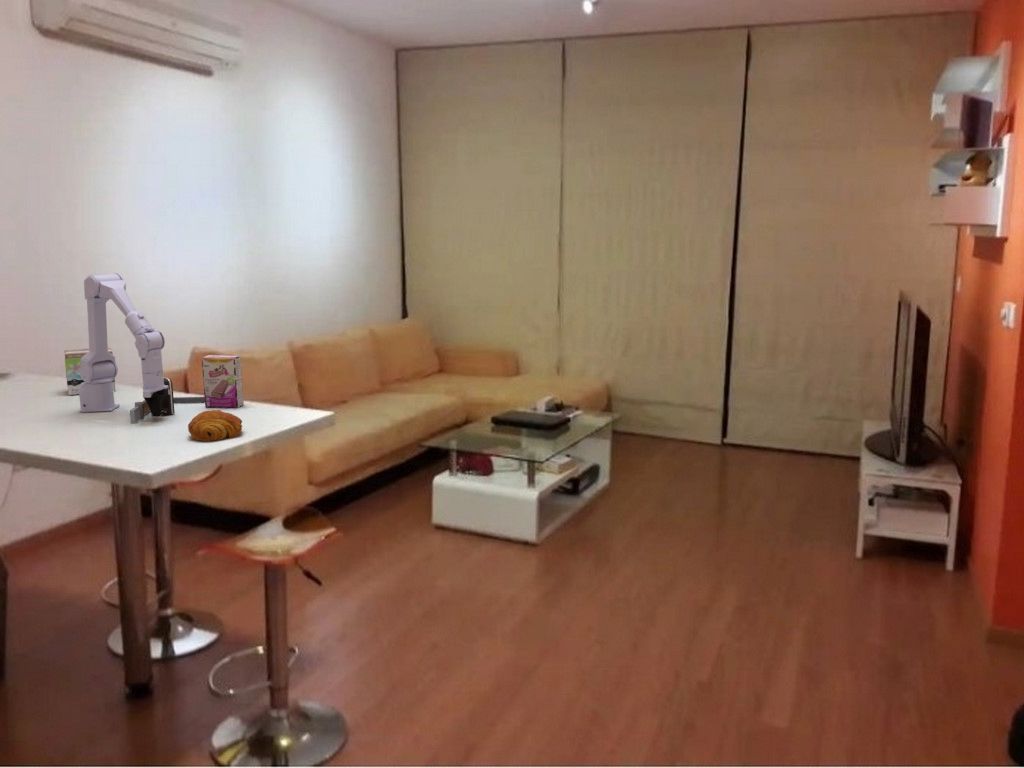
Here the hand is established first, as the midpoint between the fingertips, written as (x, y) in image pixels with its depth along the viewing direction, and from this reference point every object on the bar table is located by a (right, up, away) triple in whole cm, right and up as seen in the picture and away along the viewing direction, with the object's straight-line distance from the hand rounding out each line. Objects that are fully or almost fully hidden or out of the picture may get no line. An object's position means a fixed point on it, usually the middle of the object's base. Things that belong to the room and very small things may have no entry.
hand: (156, 416), depth 258 cm
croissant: (+24, -5, -18) cm, 31 cm away
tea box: (-40, +7, +42) cm, 59 cm away
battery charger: (-1, 0, +7) cm, 7 cm away
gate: (-6, +1, +7) cm, 10 cm away
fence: (-6, 0, +7) cm, 9 cm away
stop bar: (-2, +3, +23) cm, 23 cm away
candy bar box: (+15, +2, +17) cm, 23 cm away
